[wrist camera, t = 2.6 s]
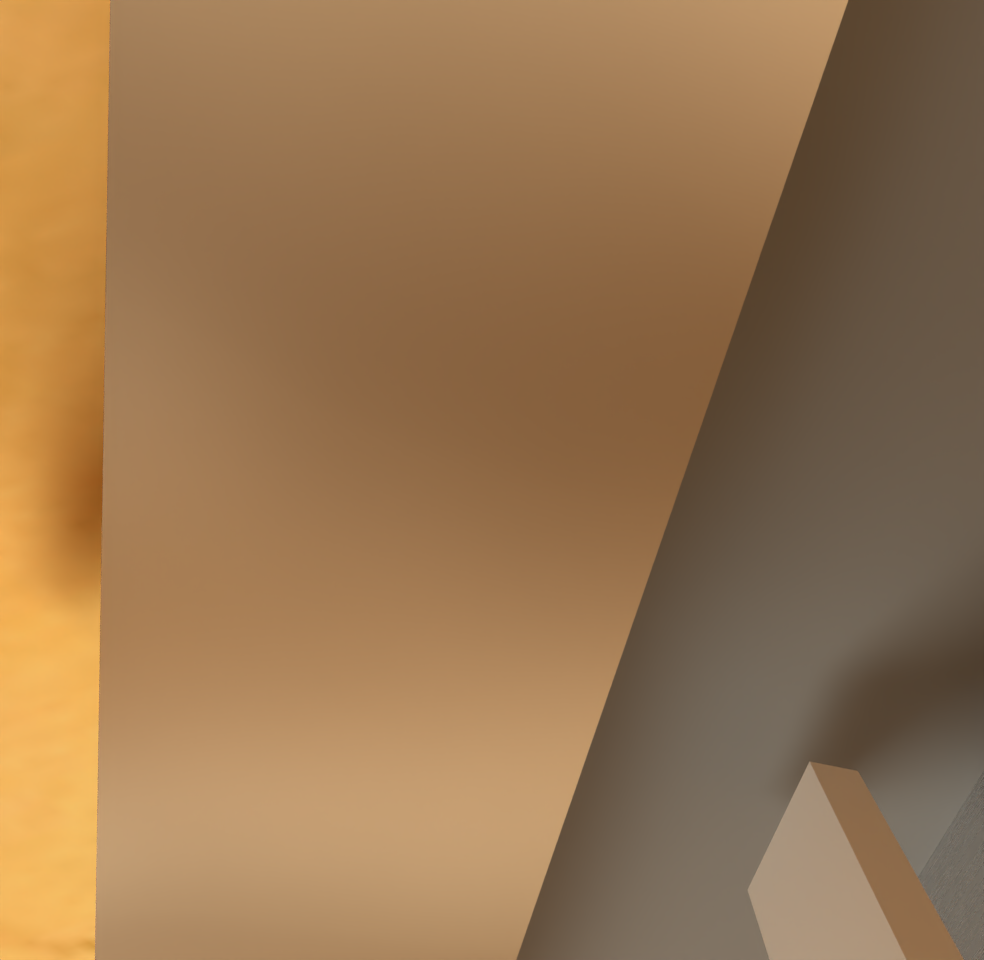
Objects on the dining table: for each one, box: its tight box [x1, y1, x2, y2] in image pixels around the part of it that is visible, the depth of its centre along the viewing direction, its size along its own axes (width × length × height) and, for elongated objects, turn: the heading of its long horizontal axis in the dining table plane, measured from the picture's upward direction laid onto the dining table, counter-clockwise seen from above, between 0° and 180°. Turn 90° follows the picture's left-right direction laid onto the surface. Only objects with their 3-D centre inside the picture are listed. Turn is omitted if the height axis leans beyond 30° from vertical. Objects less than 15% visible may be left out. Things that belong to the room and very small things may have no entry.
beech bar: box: [95, 0, 848, 960], centre depth 10 cm, size 20×4×5 cm, turn 168°
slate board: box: [516, 0, 984, 960], centre depth 14 cm, size 22×19×1 cm
